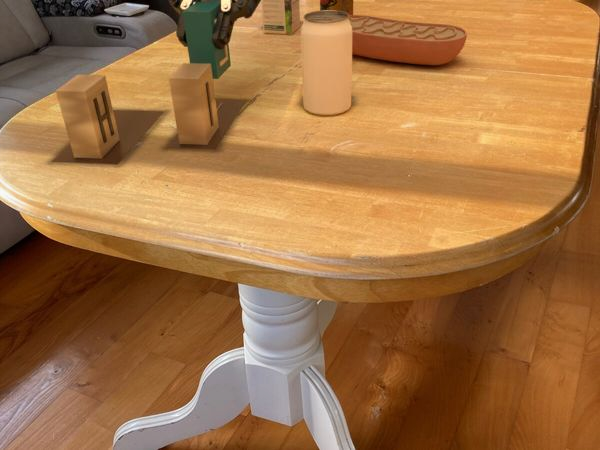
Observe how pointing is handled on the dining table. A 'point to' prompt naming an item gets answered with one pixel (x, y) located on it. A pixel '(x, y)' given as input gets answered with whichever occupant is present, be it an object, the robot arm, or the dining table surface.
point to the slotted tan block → (199, 108)
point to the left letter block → (98, 123)
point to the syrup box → (280, 16)
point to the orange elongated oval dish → (405, 40)
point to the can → (326, 62)
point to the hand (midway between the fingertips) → (201, 44)
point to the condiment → (337, 5)
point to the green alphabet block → (205, 36)
